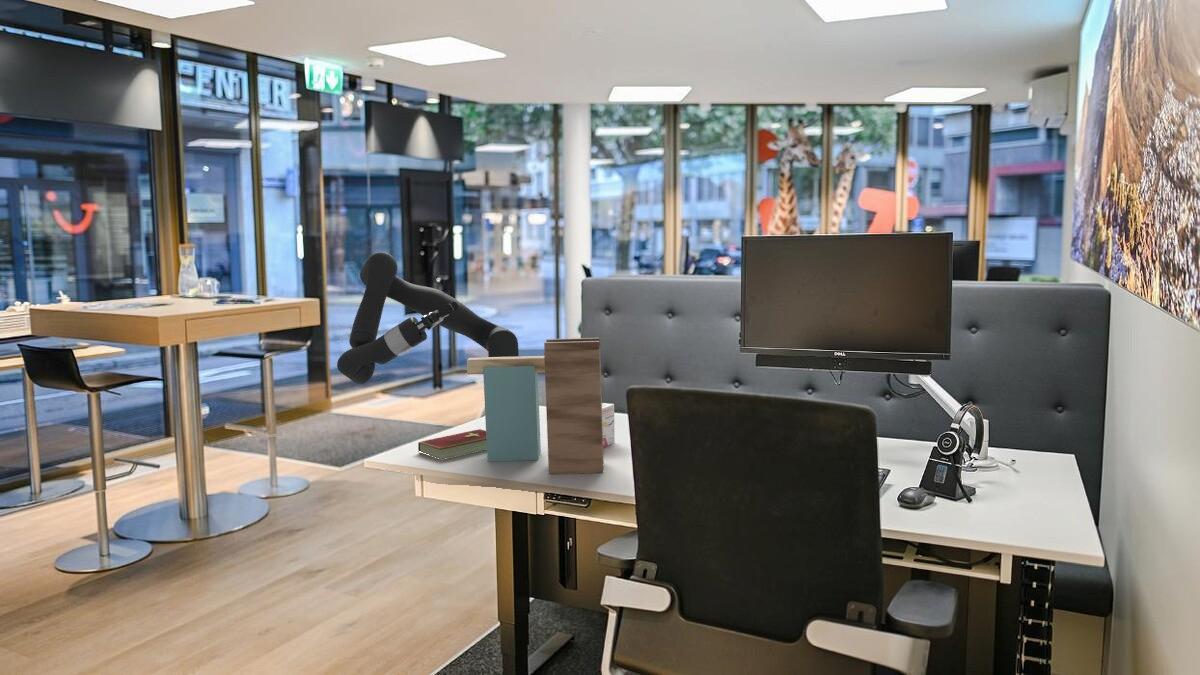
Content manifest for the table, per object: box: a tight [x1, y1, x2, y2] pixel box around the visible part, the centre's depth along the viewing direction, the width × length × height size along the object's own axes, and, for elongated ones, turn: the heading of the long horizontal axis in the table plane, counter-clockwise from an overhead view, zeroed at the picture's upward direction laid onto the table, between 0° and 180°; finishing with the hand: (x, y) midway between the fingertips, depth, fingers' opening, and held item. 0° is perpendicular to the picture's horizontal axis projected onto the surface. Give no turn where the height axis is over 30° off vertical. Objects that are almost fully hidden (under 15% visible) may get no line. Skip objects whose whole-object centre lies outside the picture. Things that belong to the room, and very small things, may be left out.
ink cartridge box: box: [602, 402, 616, 449], centre depth 250 cm, size 9×5×15 cm, turn 149°
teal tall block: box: [482, 366, 542, 462], centre depth 239 cm, size 8×14×26 cm, turn 89°
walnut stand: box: [543, 337, 605, 475], centre depth 225 cm, size 10×14×34 cm
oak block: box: [466, 355, 545, 375], centre depth 237 cm, size 4×25×4 cm, turn 89°
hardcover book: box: [417, 428, 487, 460], centre depth 250 cm, size 12×21×4 cm, turn 132°
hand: (454, 305), depth 235 cm, fingers open, 8 cm apart
